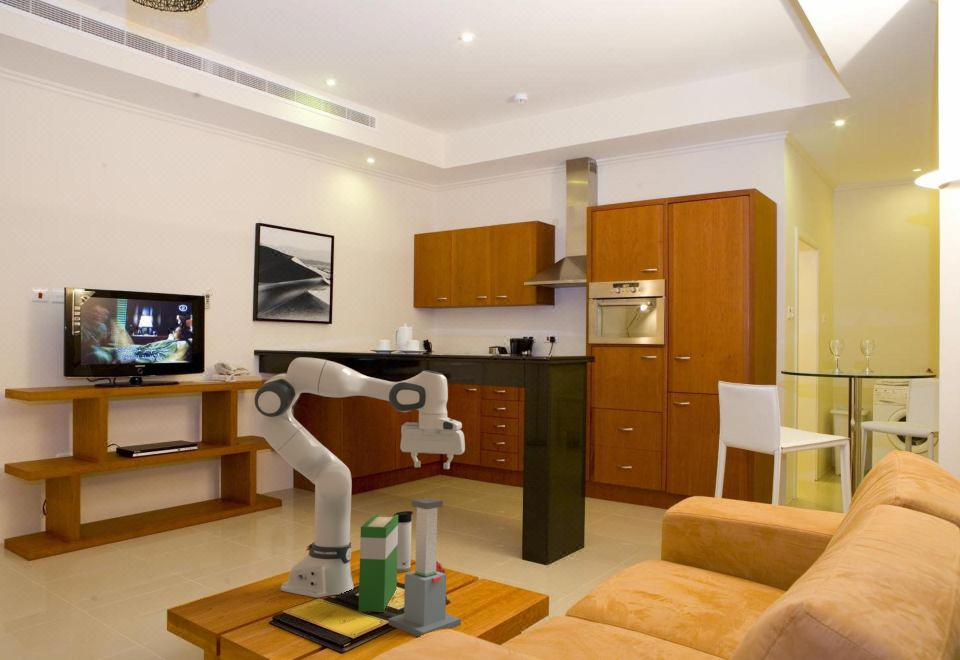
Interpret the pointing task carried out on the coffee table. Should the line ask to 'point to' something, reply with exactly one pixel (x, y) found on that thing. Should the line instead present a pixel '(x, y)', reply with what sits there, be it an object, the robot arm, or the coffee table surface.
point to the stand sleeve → (424, 605)
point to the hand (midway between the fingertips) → (431, 467)
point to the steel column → (426, 536)
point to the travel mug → (404, 541)
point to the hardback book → (378, 562)
